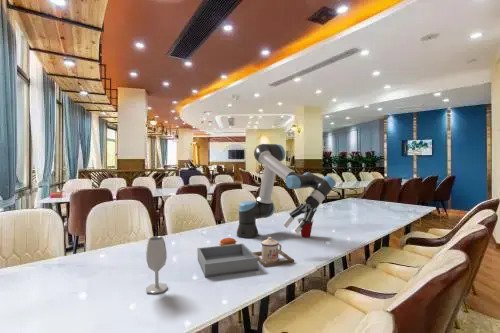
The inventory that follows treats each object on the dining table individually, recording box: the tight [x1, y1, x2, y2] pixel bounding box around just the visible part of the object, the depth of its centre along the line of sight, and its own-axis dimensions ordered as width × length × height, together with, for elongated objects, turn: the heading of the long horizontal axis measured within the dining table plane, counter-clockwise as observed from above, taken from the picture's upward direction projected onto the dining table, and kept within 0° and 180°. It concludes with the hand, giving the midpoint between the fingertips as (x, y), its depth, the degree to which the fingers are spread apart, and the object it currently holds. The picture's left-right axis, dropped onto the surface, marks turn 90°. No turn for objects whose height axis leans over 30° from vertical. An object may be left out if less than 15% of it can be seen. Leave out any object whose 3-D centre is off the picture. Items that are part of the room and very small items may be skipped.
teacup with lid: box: [260, 236, 282, 263], centre depth 152 cm, size 12×9×12 cm
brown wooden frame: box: [251, 248, 295, 268], centre depth 153 cm, size 18×16×2 cm
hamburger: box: [218, 237, 238, 246], centre depth 170 cm, size 9×10×7 cm
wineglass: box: [145, 235, 169, 295], centre depth 117 cm, size 9×9×21 cm
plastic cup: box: [297, 217, 315, 239], centre depth 196 cm, size 11×11×12 cm
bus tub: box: [196, 243, 259, 278], centre depth 145 cm, size 25×25×6 cm
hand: (290, 229), depth 155 cm, fingers open, 13 cm apart
